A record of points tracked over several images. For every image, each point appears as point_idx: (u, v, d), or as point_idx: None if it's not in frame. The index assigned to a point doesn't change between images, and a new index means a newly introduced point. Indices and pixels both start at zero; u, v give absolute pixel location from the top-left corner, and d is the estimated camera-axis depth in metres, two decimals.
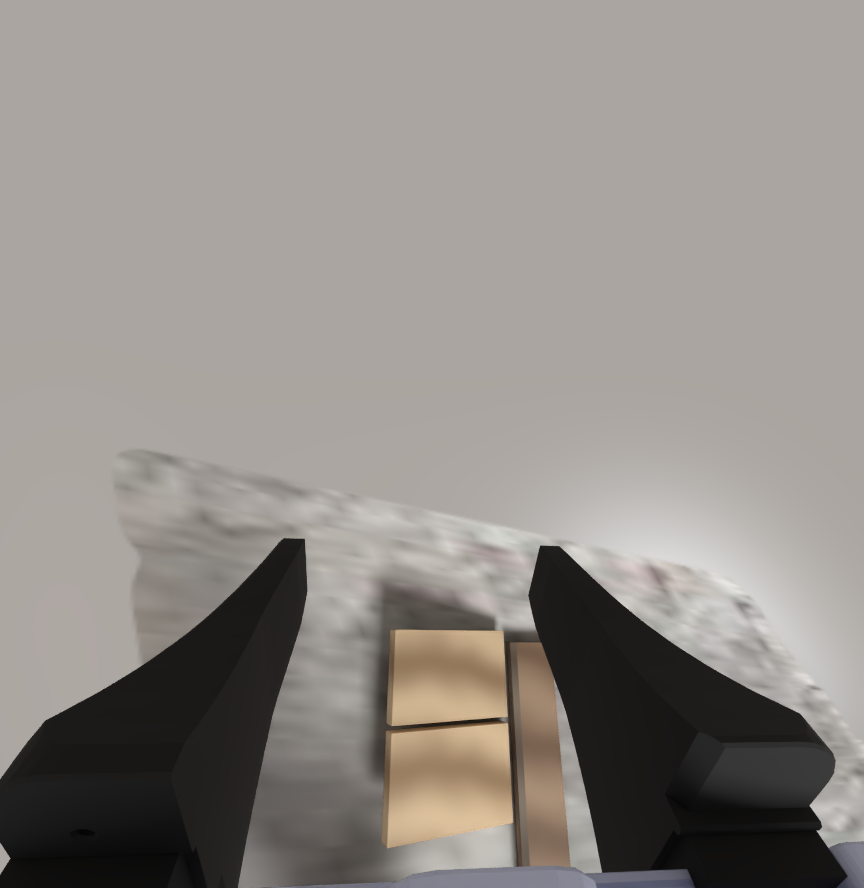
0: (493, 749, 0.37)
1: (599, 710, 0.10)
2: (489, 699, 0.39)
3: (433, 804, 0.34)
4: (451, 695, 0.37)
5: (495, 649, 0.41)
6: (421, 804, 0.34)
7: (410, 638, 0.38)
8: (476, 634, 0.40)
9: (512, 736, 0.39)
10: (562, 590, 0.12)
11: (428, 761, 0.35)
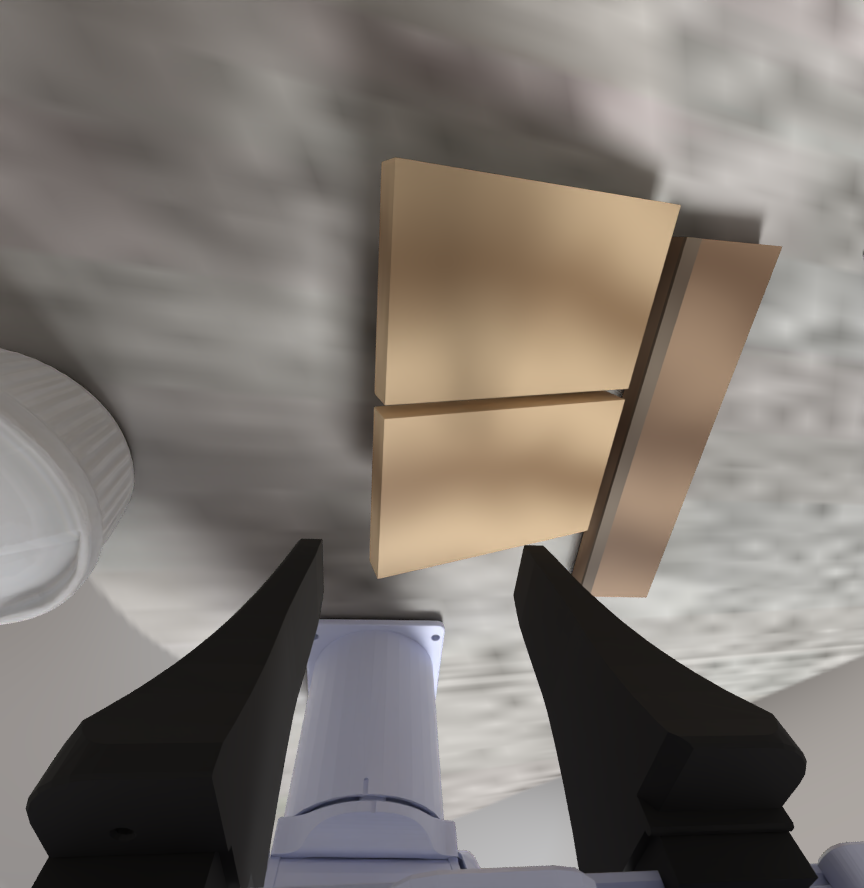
0: (586, 440, 0.19)
1: (577, 710, 0.10)
2: (604, 357, 0.18)
3: (464, 520, 0.18)
4: (527, 347, 0.16)
5: (648, 250, 0.16)
6: (442, 522, 0.18)
7: (439, 193, 0.12)
8: (617, 206, 0.15)
9: (621, 417, 0.21)
10: (544, 590, 0.12)
11: (461, 462, 0.17)
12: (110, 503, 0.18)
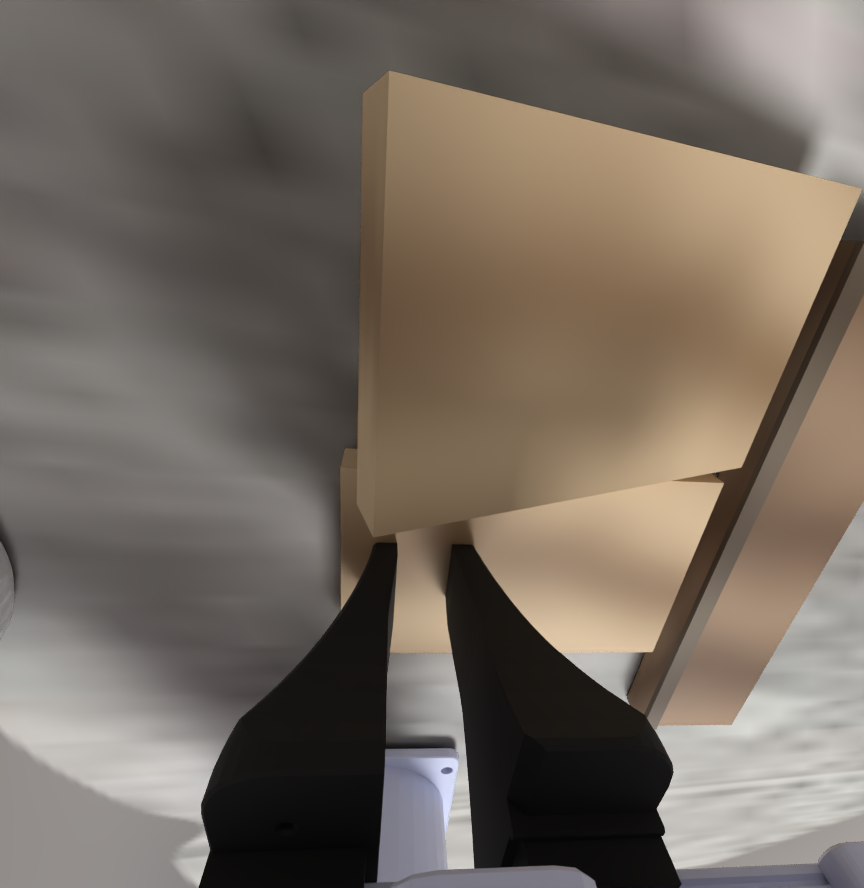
0: (653, 532, 0.13)
1: (478, 711, 0.09)
2: (717, 428, 0.11)
3: None
4: (611, 423, 0.10)
5: (804, 262, 0.10)
6: (426, 604, 0.14)
7: (479, 154, 0.06)
8: (775, 188, 0.09)
9: (718, 500, 0.14)
10: (461, 588, 0.11)
11: (452, 535, 0.13)
12: None
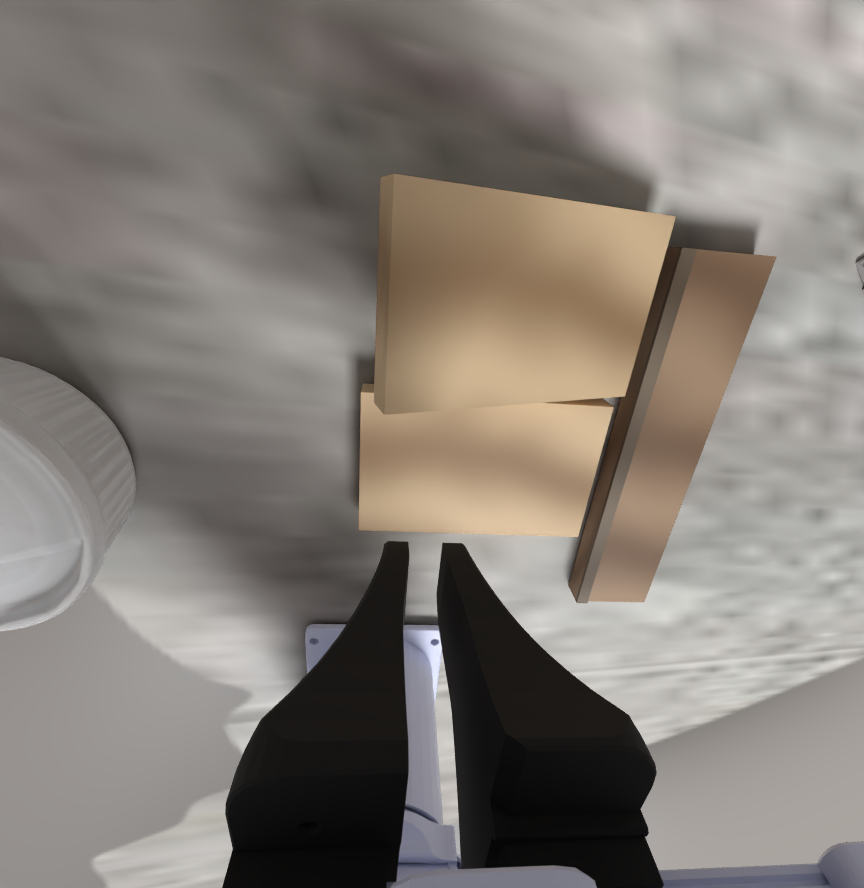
0: (569, 442, 0.20)
1: (465, 711, 0.09)
2: (600, 366, 0.18)
3: (438, 496, 0.21)
4: (525, 356, 0.16)
5: (643, 260, 0.16)
6: (417, 493, 0.20)
7: (437, 207, 0.13)
8: (613, 218, 0.15)
9: (618, 424, 0.21)
10: (451, 588, 0.11)
11: (433, 441, 0.19)
12: (112, 511, 0.18)
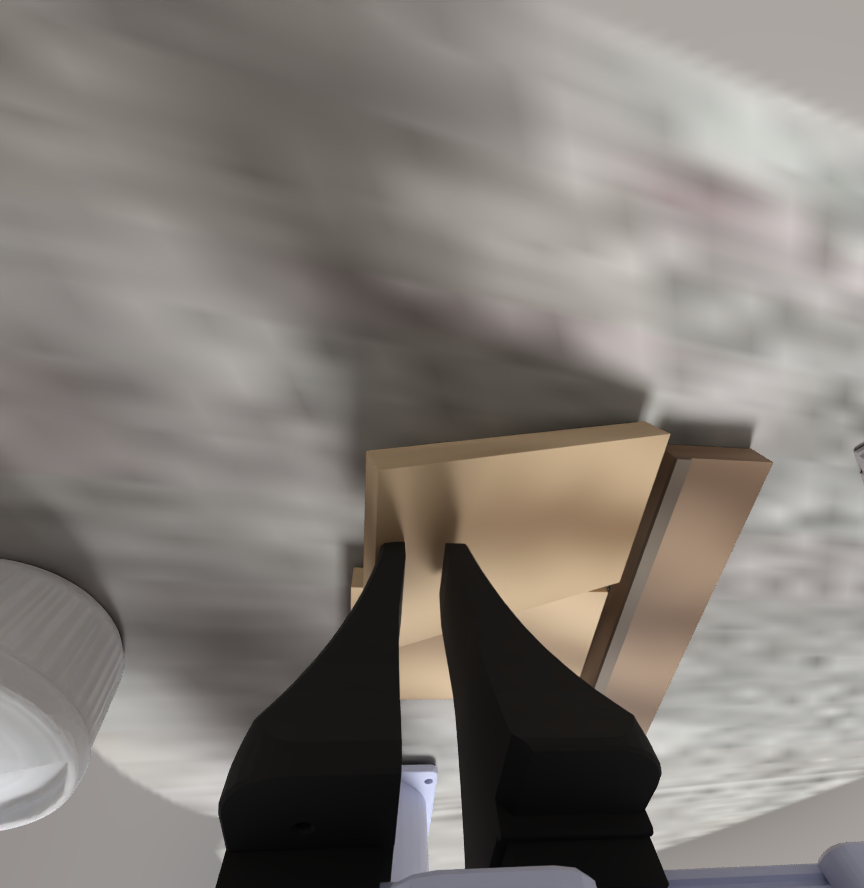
0: (563, 622, 0.20)
1: (469, 711, 0.09)
2: (594, 565, 0.18)
3: (430, 669, 0.20)
4: (516, 576, 0.16)
5: (637, 475, 0.16)
6: (409, 668, 0.20)
7: (424, 485, 0.12)
8: (605, 450, 0.15)
9: (613, 596, 0.20)
10: (454, 588, 0.11)
11: None
12: (98, 710, 0.18)
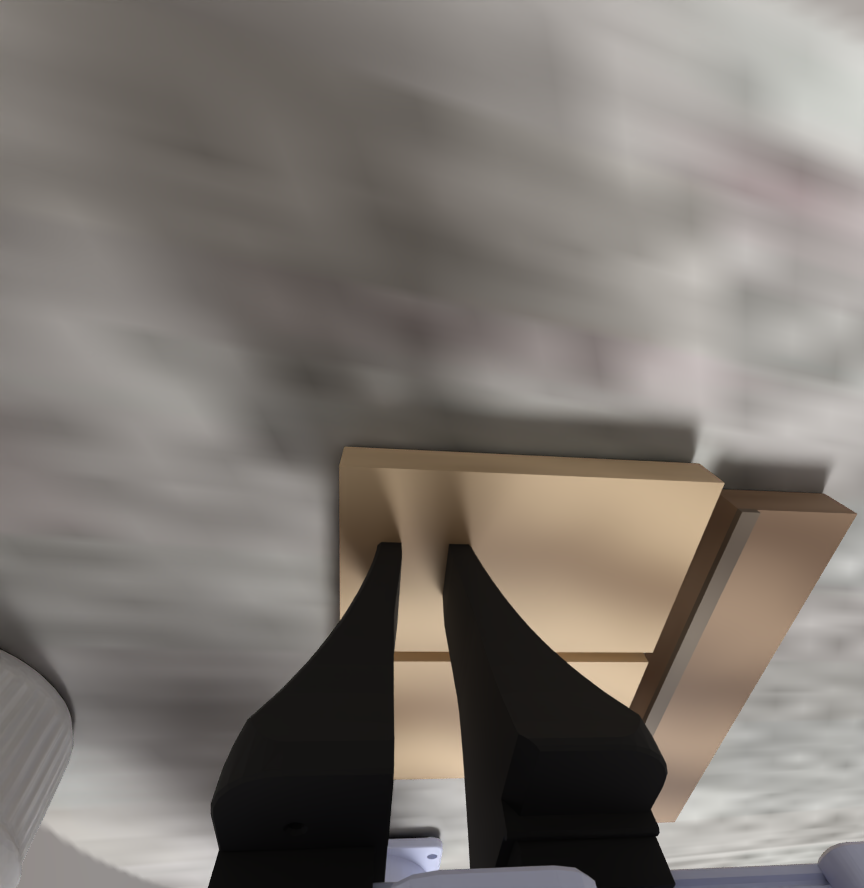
0: None
1: (474, 711, 0.09)
2: (613, 623, 0.15)
3: (435, 748, 0.17)
4: None
5: (674, 526, 0.13)
6: (409, 746, 0.17)
7: (389, 490, 0.12)
8: (623, 488, 0.13)
9: (651, 660, 0.17)
10: (458, 588, 0.11)
11: (429, 701, 0.16)
12: (34, 811, 0.15)
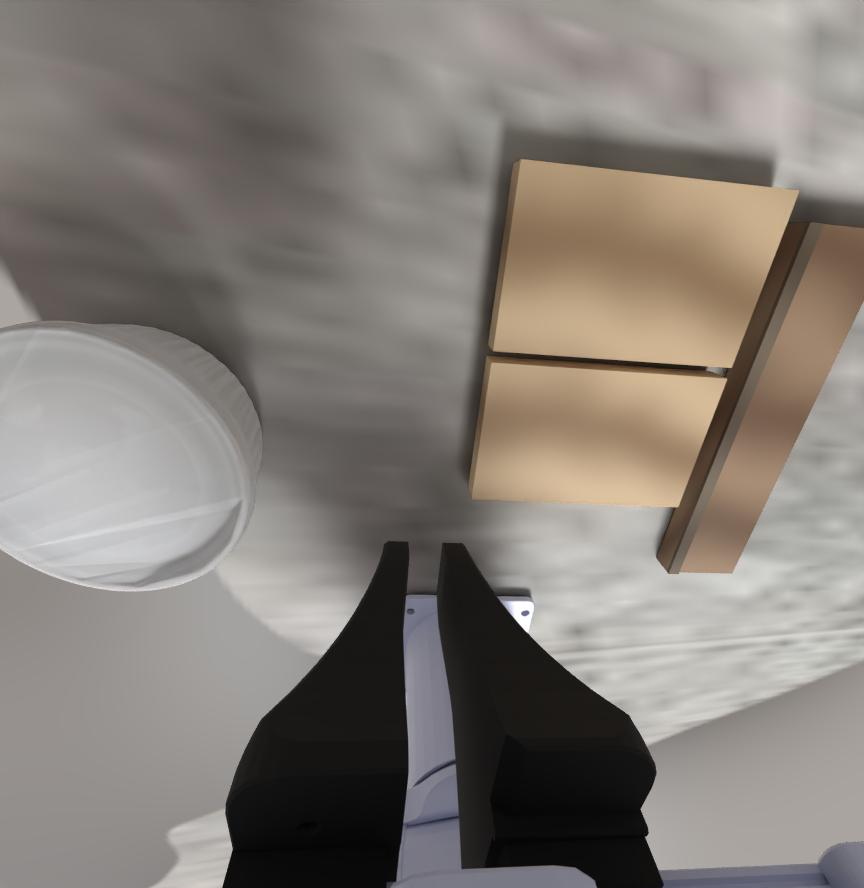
0: (681, 413, 0.21)
1: (465, 711, 0.09)
2: (704, 333, 0.19)
3: (551, 466, 0.21)
4: (623, 315, 0.18)
5: (759, 232, 0.17)
6: (531, 463, 0.21)
7: (553, 184, 0.16)
8: (724, 192, 0.17)
9: (724, 397, 0.22)
10: (451, 588, 0.11)
11: (553, 411, 0.20)
12: (255, 475, 0.19)
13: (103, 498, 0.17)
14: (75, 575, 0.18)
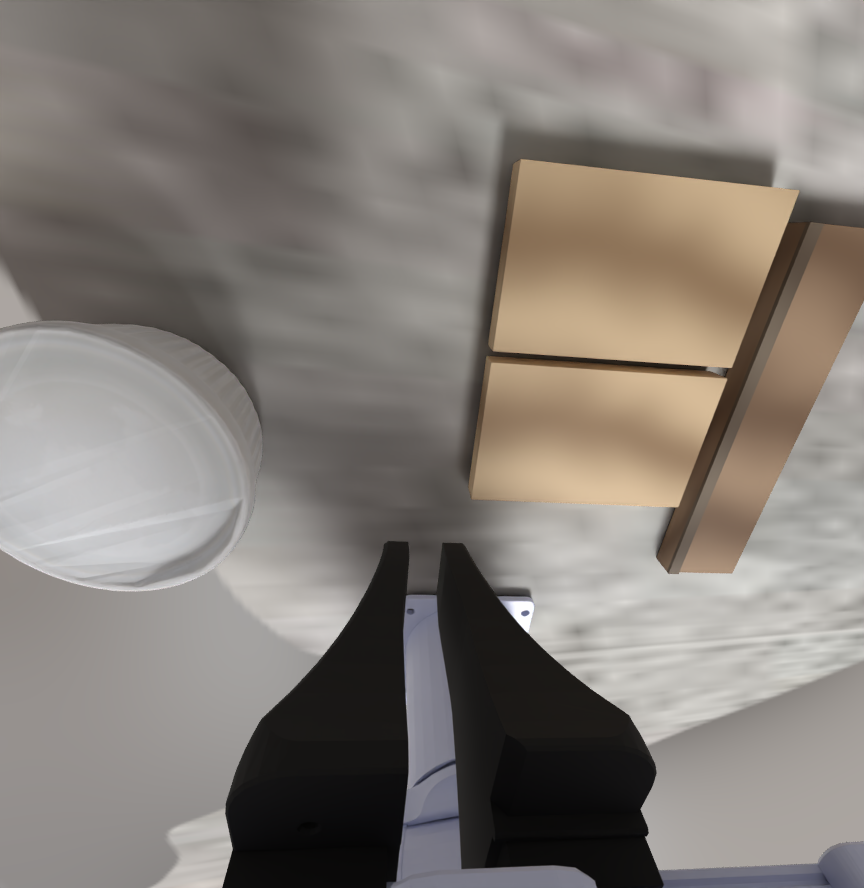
0: (681, 413, 0.21)
1: (465, 711, 0.09)
2: (704, 333, 0.19)
3: (551, 466, 0.21)
4: (623, 315, 0.18)
5: (759, 232, 0.17)
6: (531, 463, 0.21)
7: (553, 184, 0.16)
8: (724, 192, 0.17)
9: (724, 397, 0.22)
10: (451, 588, 0.11)
11: (553, 411, 0.20)
12: (255, 475, 0.19)
13: (103, 498, 0.17)
14: (75, 575, 0.18)
